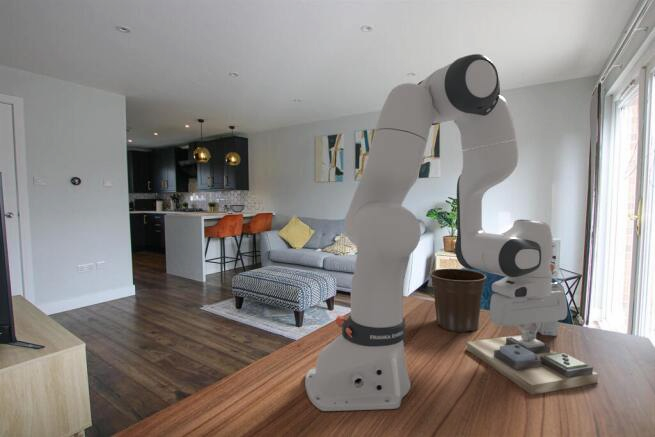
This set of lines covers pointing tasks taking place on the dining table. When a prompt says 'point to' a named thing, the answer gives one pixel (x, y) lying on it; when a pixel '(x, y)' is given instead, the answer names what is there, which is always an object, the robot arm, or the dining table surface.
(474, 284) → the plant pot
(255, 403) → the dining table surface
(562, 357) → the three dot key
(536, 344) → the one dot key
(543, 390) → the key board
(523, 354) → the two dot key
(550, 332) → the skincare box
